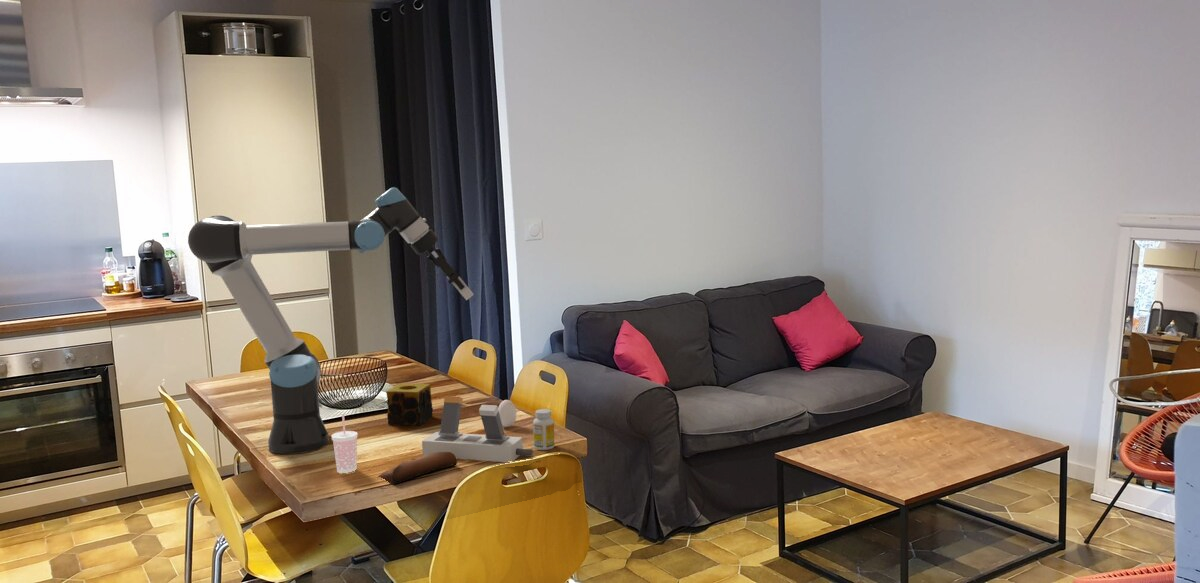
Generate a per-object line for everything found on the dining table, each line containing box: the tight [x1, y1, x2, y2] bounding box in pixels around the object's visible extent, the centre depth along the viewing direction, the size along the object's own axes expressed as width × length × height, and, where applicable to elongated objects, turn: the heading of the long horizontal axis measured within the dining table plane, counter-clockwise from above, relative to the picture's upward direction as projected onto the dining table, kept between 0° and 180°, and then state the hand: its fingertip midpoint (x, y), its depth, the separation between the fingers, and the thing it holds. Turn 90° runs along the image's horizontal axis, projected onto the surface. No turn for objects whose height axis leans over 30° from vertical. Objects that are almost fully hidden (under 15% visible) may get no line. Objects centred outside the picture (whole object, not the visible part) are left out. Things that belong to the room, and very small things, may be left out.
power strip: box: [421, 431, 534, 463], centre depth 228 cm, size 28×8×4 cm, turn 73°
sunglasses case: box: [377, 452, 458, 486], centre depth 216 cm, size 18×7×7 cm
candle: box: [385, 383, 434, 427], centre depth 261 cm, size 10×10×10 cm
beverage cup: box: [331, 413, 358, 474], centre depth 218 cm, size 6×6×14 cm
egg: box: [498, 399, 517, 428], centre depth 252 cm, size 5×5×8 cm
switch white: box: [478, 404, 507, 440], centre depth 224 cm, size 2×5×10 cm, turn 73°
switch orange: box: [437, 395, 464, 437], centre depth 231 cm, size 2×5×10 cm, turn 74°
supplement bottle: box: [532, 408, 555, 451], centre depth 233 cm, size 5×5×10 cm
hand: (467, 294), depth 260 cm, fingers open, 13 cm apart
